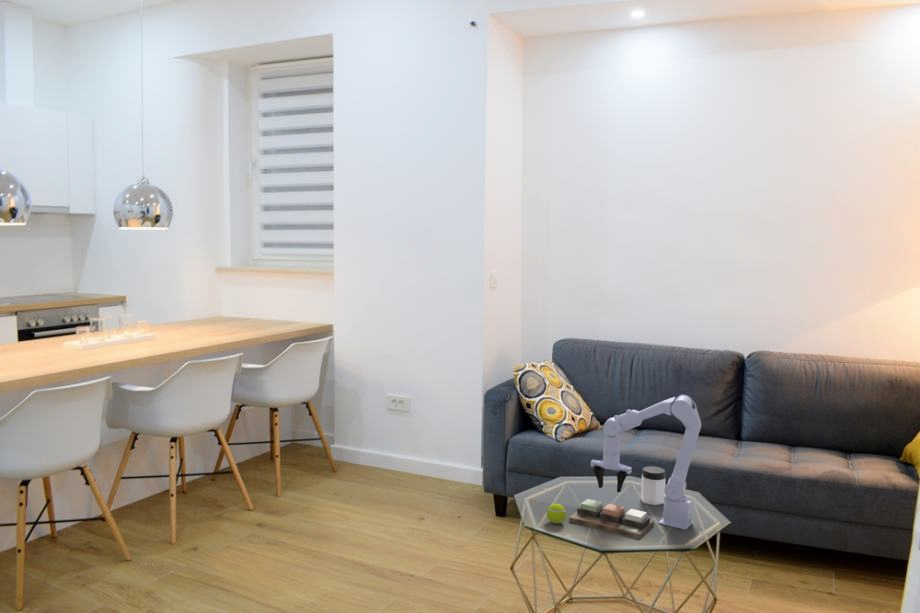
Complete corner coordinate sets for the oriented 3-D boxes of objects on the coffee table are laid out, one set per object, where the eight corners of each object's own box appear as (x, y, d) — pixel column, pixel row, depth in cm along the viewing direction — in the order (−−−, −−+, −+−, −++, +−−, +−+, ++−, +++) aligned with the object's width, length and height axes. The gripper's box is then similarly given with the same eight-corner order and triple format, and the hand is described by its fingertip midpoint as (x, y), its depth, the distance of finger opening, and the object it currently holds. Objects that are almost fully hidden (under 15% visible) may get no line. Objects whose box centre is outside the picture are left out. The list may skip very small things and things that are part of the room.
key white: (646, 518, 263) (646, 512, 263) (640, 523, 259) (641, 517, 258) (630, 514, 266) (631, 508, 266) (624, 519, 262) (625, 513, 261)
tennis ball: (558, 528, 260) (559, 509, 259) (542, 523, 265) (542, 504, 264) (569, 523, 265) (570, 504, 264) (553, 517, 270) (554, 499, 269)
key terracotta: (624, 512, 268) (624, 507, 267) (618, 517, 263) (618, 512, 263) (608, 509, 271) (608, 503, 270) (602, 514, 266) (602, 508, 266)
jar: (638, 496, 292) (640, 465, 291) (660, 497, 292) (662, 466, 290) (643, 505, 283) (645, 473, 282) (666, 506, 283) (667, 474, 282)
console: (653, 525, 265) (654, 515, 265) (639, 538, 253) (639, 529, 253) (585, 509, 278) (586, 500, 278) (569, 521, 267) (569, 512, 266)
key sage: (602, 507, 272) (602, 502, 272) (595, 512, 267) (596, 507, 267) (587, 504, 275) (587, 498, 275) (580, 509, 270) (581, 503, 270)
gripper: (587, 451, 274) (586, 488, 275) (627, 458, 266) (625, 496, 268) (595, 446, 280) (594, 482, 281) (634, 453, 272) (632, 491, 273)
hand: (609, 489), depth 275 cm, fingers open, 6 cm apart
